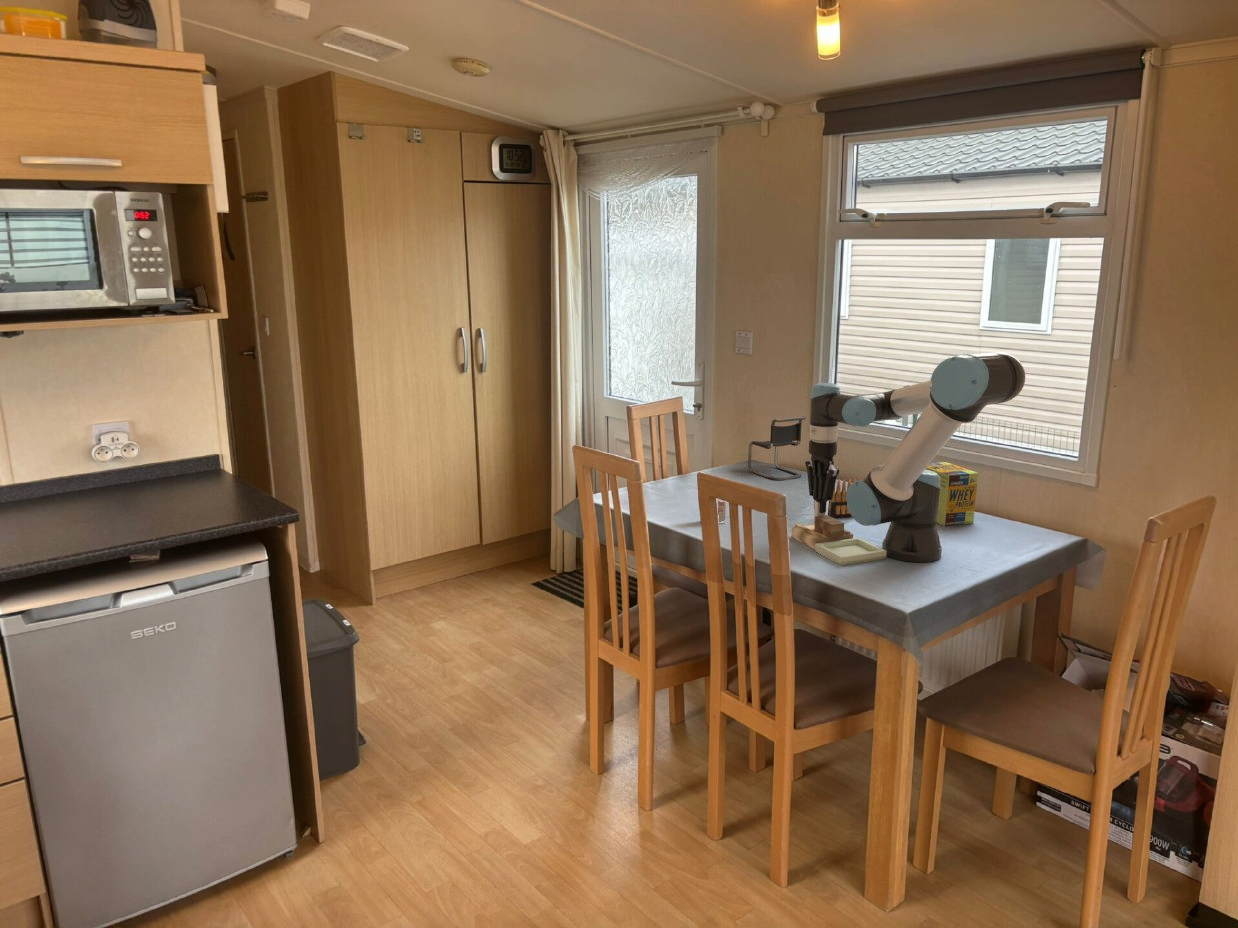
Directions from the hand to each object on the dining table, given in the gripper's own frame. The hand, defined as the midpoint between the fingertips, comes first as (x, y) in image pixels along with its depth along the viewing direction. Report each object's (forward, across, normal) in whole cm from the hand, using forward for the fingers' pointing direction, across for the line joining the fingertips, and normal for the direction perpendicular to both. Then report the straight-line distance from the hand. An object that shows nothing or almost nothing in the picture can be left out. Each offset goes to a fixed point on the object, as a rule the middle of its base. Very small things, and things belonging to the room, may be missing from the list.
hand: (819, 522), depth 253 cm
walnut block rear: (+2, +3, 0) cm, 3 cm away
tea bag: (+5, -25, -20) cm, 33 cm away
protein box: (+5, -4, +47) cm, 47 cm away
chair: (+4, -70, +29) cm, 75 cm away
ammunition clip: (+5, -16, +20) cm, 26 cm away
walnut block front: (+2, +7, 0) cm, 7 cm away
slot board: (+5, +2, 0) cm, 5 cm away
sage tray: (+5, +15, 0) cm, 15 cm away
